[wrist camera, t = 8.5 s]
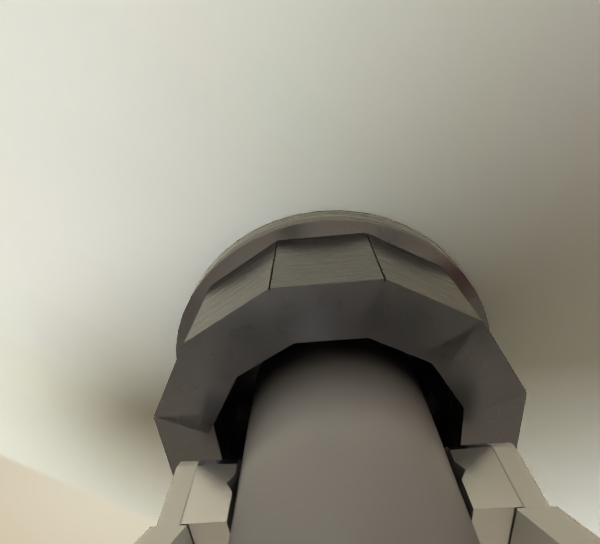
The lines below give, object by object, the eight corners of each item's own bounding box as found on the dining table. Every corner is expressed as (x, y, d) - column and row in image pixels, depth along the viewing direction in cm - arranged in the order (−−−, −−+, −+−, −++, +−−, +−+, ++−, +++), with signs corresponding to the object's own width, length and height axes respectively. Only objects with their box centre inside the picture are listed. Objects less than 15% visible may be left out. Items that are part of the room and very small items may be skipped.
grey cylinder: (419, 317, 11) (535, 556, 6) (414, 446, 13) (495, 713, 8) (243, 331, 12) (183, 572, 6) (266, 454, 14) (237, 719, 8)
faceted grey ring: (493, 195, 12) (575, 244, 8) (466, 447, 16) (512, 550, 13) (152, 226, 13) (89, 284, 9) (214, 462, 17) (189, 565, 13)
